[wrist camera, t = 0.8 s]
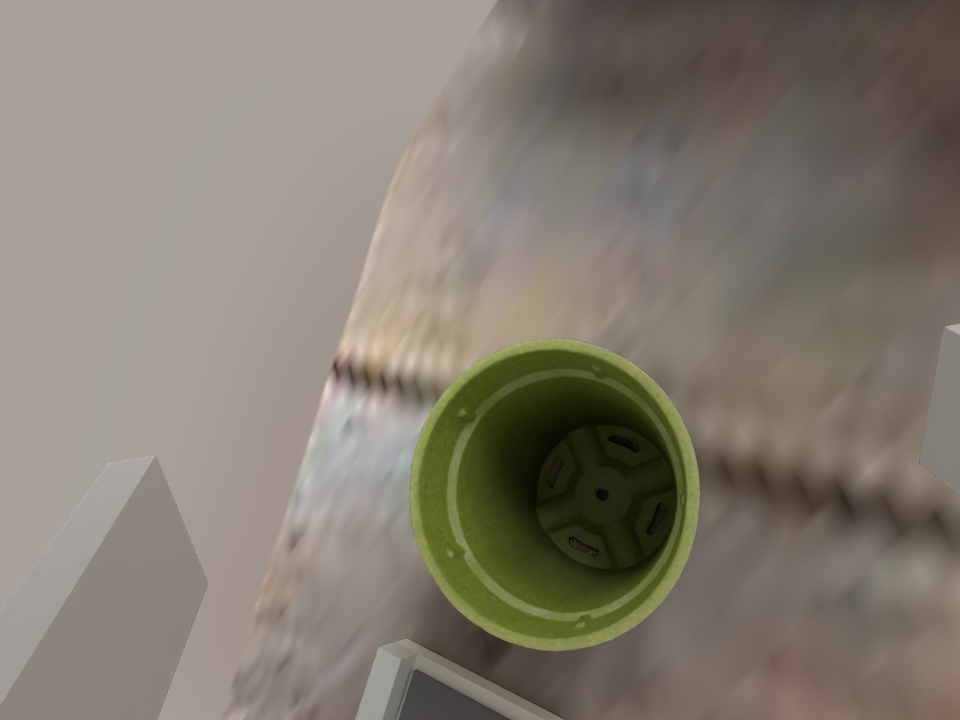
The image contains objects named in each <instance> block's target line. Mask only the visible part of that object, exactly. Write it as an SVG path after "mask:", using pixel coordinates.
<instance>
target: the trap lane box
mask: <svg viewBox="0 0 960 720" xmlns="http://www.w3.org/2000/svg"><path fill="white" fill-rule="evenodd" d="M355 720H564V719H562V718H560V717H558V716H556V715H554V714H552V713H550V712H549V711H547V710H545V709H543V708H541V707H539V706H537V705H535V704H533V703H531V702H529V701H527V700H525V699H523V698H521V697H519V696H518V695H516V694H514V693H512V692H510V691H508V690H506V689H504V688H502V687H500V686H498V685H496V684H494V683H492V682H490V681H488V680H486V679H485V678H483V677H481V676H479V675H477V674H475V673H473V672H471V671H469V670H467V669H465V668H463V667H461V666H459V665H457V664H455V663H454V662H452V661H450V660H448V659H446V658H444V657H442V656H440V655H438V654H436V653H434V652H432V651H430V650H428V649H426V648H424V647H423V646H421V645H419V644H417V643H415V642H413V641H411V640H409V639H407V638H406V639H403V640H400V641H397V642H393V643H390V644H387V645H384V646H380V647H378V650H377V653H376V656H375V659H374V662H373V666H372V669H371V672H370V675H369V678H368V681H367V684H366V687H365V690H364V694H363V697H362V700H361V703H360V706H359V709H358V712H357V715H356V718H355Z"/></svg>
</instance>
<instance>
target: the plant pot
mask: <svg viewBox="0 0 960 720" xmlns="http://www.w3.org/2000/svg"><path fill="white" fill-rule="evenodd" d="M614 435H615V436H619V437H622V438H625V439H628V440H631V441H632V442H634V443H636V444H637V446H638V448H639V450H638V452H634V451H632V450H630V449H628V448H626V447H625V446H622V445H620V444H617V443H613V442H610V441H609V438H611V437H612V436H614ZM560 458H562V459H564V465H563V466H562V467H561V469H560V471H559V473H558V475H557V477H556V481H555V482H554V483H553V487H552V488H550V485H549V478H550V472H551V469H552V467H553V465H554V464H555V462H556V461H557V460H559V459H560ZM599 489H605V490H606V491H607V492H608V498H607V499H606V500H604V501H601V500H600V499H598V498H597V496H596V493H597V490H599ZM409 503H410V514H411V521H412V527H413V531H414V535H415V539H416V542H417V546H418V549H419V552H420V554H421V556H422V558H423V560H424V563H425V565H426V567H427V569H428V570H429V572H430V574H431V576H432V577H433V579H434V581H435V582H436V584H437V585H438V587H439V588H440V590H441V591H442V593H443V594H444V595H445V597H446V598H447V599H448V600H449V602H450V603H451V604H452V605H453V606H454V607H455V608H456V609H457V610H458V611H459V612H460V613H461V614H462V615H464V616H465V617H466V618H467V619H468V620H470V621H471V622H473V623H474V624H475V625H477V626H479V627H480V628H482V629H483V630H485V631H486V632H488V633H490V634H492V635H493V636H495V637H498V638H500V639H502V640H504V641H507V642H510V643H512V644H516V645H519V646H523V647H526V648H531V649H537V650H543V651H568V650H577V649H582V648H587V647H592V646H595V645H598V644H602V643H605V642H608V641H611V640H612V639H615V638H617V637H619V636H621V635H623V634H624V633H626V632H628V631H629V630H631V629H633V628H634V627H636V626H637V625H639V624H640V623H641V622H642V621H643V620H645V619H646V618H647V617H648V616H650V615H651V614H652V613H653V612H654V610H655V609H656V608H657V607H658V606H659V605H660V604H661V603H662V602H663V601H664V600H665V598H666V597H667V596H668V594H669V593H670V592H671V590H672V589H673V587H674V586H675V584H676V583H677V581H678V579H679V577H680V575H681V574H682V572H683V570H684V568H685V565H686V563H687V561H688V558H689V556H690V553H691V551H692V547H693V543H694V540H695V536H696V531H697V525H698V519H699V508H700V479H699V470H698V464H697V460H696V455H695V451H694V448H693V444H692V441H691V438H690V436H689V434H688V431H687V429H686V427H685V424H684V422H683V420H682V418H681V417H680V415H679V413H678V411H677V410H676V408H675V406H674V405H673V403H672V402H671V401H670V399H669V398H668V396H667V395H666V394H665V392H664V391H663V390H662V389H661V388H660V387H659V386H658V385H657V384H656V383H655V382H654V380H653V379H652V378H651V377H649V376H648V375H647V374H646V373H645V372H644V371H642V370H641V369H640V368H639V367H637V366H636V365H634V364H633V363H632V362H630V361H628V360H626V359H625V358H623V357H621V356H619V355H617V354H615V353H613V352H611V351H609V350H606V349H604V348H601V347H598V346H595V345H592V344H588V343H585V342H580V341H574V340H565V339H544V340H535V341H529V342H524V343H520V344H516V345H512V346H510V347H507V348H505V349H502V350H499V351H497V352H495V353H493V354H491V355H489V356H487V357H485V358H483V359H482V360H480V361H479V362H477V363H475V364H474V365H473V366H471V367H470V368H468V369H467V370H466V371H465V372H463V373H462V374H461V375H460V376H459V377H458V378H457V379H456V380H455V381H454V382H453V383H452V384H451V385H450V386H449V387H448V388H447V390H446V391H445V392H444V393H443V394H442V396H441V397H440V398H439V400H438V401H437V403H436V404H435V406H434V407H433V409H432V410H431V412H430V414H429V416H428V418H427V419H426V421H425V423H424V426H423V428H422V431H421V434H420V437H419V440H418V443H417V445H416V449H415V452H414V457H413V461H412V466H411V474H410V497H409ZM659 503H662V504H663V505H664V507H665V515H664V517H663V519H662V520H661V523H660V526H659V528H658V530H657V531H656V532H655V533H654V534H652V535H648V534H647V529H648V527H649V526H650V524H651V522H652V520H653V518H654V516H655V513H656V507H657V505H658V504H659ZM572 536H573V537H575V538H576V539H577V540H579V541H581V542H582V543H584V544H586V545H588V546H590V547H592V548H596V549H598V552H599V553H598V554H596V555H594V556H592V555H590V554H589V553H586V552H585V551H580V550H577V549H576V548H574V547H573V546H572V545H571V544H570V543H569V537H572Z"/></svg>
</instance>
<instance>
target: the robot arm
mask: <svg viewBox="0 0 960 720" xmlns="http://www.w3.org/2000/svg"><path fill="white" fill-rule="evenodd" d="M919 464H920V465H922V466H923V467H924V468H925V469H927V470H928V471H929V472H930V473H931V474H933V475H934V476H935V477H936V478H938V479H939V480H940V481H941V482H942V483H944V484H945V485H946V486H947V487H949V488H950V489H951V490H952V491H953V492H955V493H956V494H957V495H958V496H960V324H957V325H950V326H944V328H943V334H942V339H941V345H940V350H939V356H938V361H937V367H936V372H935V378H934V383H933V389H932V394H931V400H930V406H929V411H928V417H927V422H926V428H925V433H924V439H923V444H922V450H921V455H920V461H919ZM207 585H208V581H207V579H206V577H205V574H204V571H203V569H202V567H201V564H200V562H199V559H198V557H197V554H196V552H195V549H194V547H193V544H192V542H191V540H190V537H189V535H188V532H187V530H186V527H185V525H184V522H183V520H182V517H181V515H180V512H179V510H178V508H177V505H176V503H175V501H174V498H173V495H172V493H171V490H170V488H169V485H168V483H167V480H166V478H165V476H164V473H163V471H162V468H161V466H160V464H159V461H158V458H157V456H156V455H152V456H146V457H140V458H134V459H128V460H121V461H115V462H109V463H108V464H107V465H106V467H105V468H104V469H103V471H102V472H101V474H100V475H99V476H98V478H97V479H96V480H95V482H94V483H93V485H92V486H91V487H90V489H89V490H88V491H87V493H86V494H85V496H84V497H83V498H82V500H81V501H80V502H79V504H78V505H77V507H76V508H75V509H74V511H73V512H72V514H71V515H70V516H69V518H68V519H67V521H66V522H65V523H64V525H63V526H62V527H61V529H60V530H59V532H58V533H57V534H56V536H55V537H54V538H53V540H52V541H51V543H50V544H49V545H48V547H47V548H46V549H45V551H44V552H43V554H42V555H41V557H40V558H39V559H38V561H37V562H36V563H35V565H34V566H33V567H32V569H31V570H30V572H29V573H28V574H27V576H26V577H25V578H24V580H23V581H22V583H21V584H20V585H19V587H18V588H17V589H16V591H15V592H14V594H13V595H12V597H11V598H10V599H9V601H8V602H7V603H6V605H5V606H4V607H3V609H2V610H1V612H0V720H157V718H158V716H159V713H160V711H161V708H162V705H163V703H164V700H165V697H166V694H167V692H168V689H169V687H170V684H171V681H172V679H173V676H174V673H175V671H176V668H177V665H178V663H179V660H180V657H181V655H182V652H183V649H184V646H185V644H186V641H187V639H188V636H189V633H190V631H191V628H192V625H193V623H194V620H195V617H196V614H197V612H198V609H199V607H200V604H201V601H202V598H203V596H204V593H205V591H206V588H207Z"/></svg>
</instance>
